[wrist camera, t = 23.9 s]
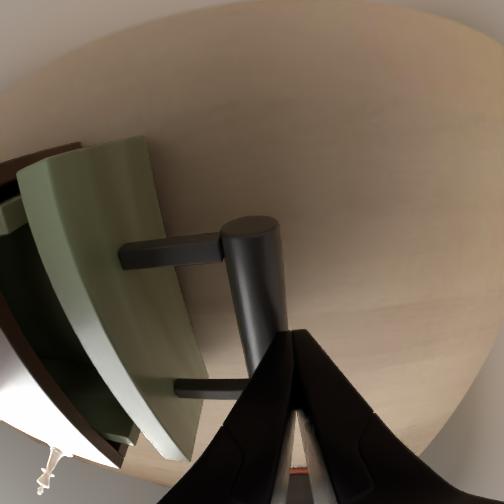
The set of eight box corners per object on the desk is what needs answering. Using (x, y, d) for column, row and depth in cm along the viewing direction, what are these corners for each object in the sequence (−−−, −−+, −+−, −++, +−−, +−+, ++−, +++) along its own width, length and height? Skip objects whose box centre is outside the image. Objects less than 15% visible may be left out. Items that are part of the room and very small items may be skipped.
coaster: (322, 464, 21) (322, 468, 20) (324, 480, 23) (324, 483, 23) (260, 470, 22) (260, 474, 21) (271, 485, 24) (271, 488, 24)
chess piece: (50, 442, 27) (29, 489, 18) (42, 430, 25) (18, 481, 16) (77, 456, 28) (58, 505, 19) (71, 446, 26) (49, 500, 17)
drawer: (266, 113, 8) (265, 101, 4) (290, 372, 13) (294, 464, 9) (-25, 200, 10) (-86, 237, 6) (46, 359, 15) (12, 410, 10)
